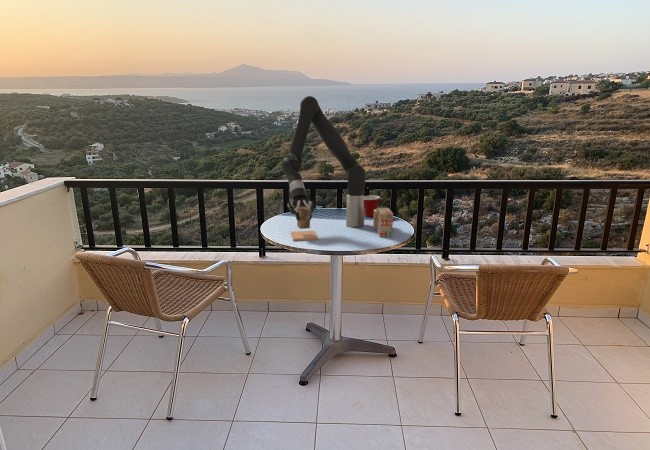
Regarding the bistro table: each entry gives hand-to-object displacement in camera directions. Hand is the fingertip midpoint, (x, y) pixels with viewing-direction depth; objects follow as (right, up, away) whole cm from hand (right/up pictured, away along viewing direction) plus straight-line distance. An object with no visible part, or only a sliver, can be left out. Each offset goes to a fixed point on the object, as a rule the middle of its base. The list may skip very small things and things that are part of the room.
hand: (304, 219), depth 195 cm
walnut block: (-1, -4, +3) cm, 5 cm away
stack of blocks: (+40, -6, +15) cm, 43 cm away
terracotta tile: (-1, -8, +4) cm, 9 cm away
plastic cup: (+37, +2, +45) cm, 58 cm away
